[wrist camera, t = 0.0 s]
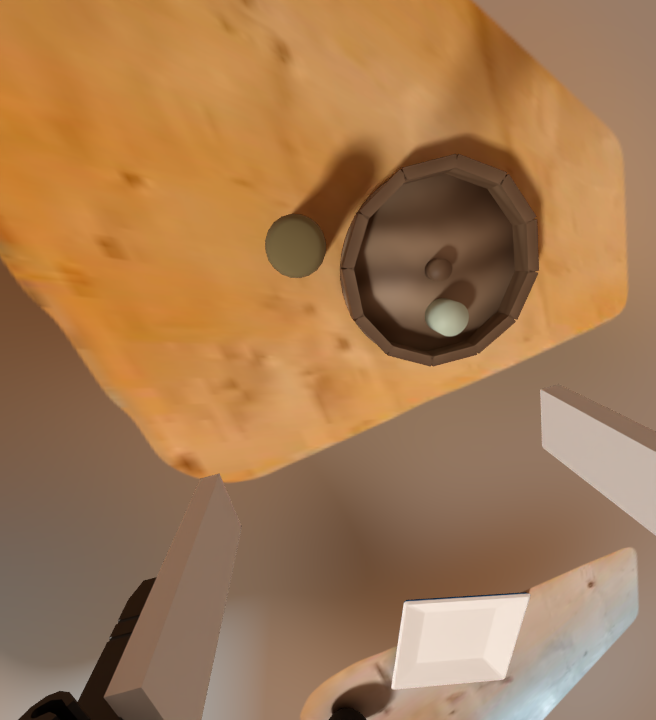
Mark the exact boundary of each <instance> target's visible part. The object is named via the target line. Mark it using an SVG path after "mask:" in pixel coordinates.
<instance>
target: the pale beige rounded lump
mask: <svg viewBox="0 0 656 720" xmlns="http://www.w3.org/2000/svg"><path fill="white" fill-rule="evenodd" d="M468 320H469V313H468V310H467V308H466V307H465V306H464V305H463V304H462V303H460V302H456V301H453V300H449V299H445V298H440V299H436V300H434V301H433V302H432V303H430V304H429V306H428V307H427V309H426V312H425V321H426V324H427V325H428V326H429V327H430V328H431V329H433V330H434V331H436V332H438V333H440V334H442V335H444V336H455V335H457V334H459V333H461V332H462V331H463V330H464V329H465V327H466V326H467V323H468Z"/></svg>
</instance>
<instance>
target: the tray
mask: <svg viewBox="0 0 656 720" xmlns="http://www.w3.org/2000/svg"><path fill="white" fill-rule="evenodd" d="M506 173H507V172H505V171H502V170H499V169H497V168H494V167H492V166H489V165H486V164H484V163H481V162H479V161H476V160H473V159H471V158H468V157H466V156H463V155H460V154H458V155H457V156H456V154H453V155H450V156H446V157H442V158H438V159H434V160H430V161H426V162H423V163H419V164H415V165H411V166H407V167H403V168H402V169H400V170H399V171H398V172H396V173H395V174H394V175H393V176H392V177H391V178H390V179H389V180H388V181H387V182H385V183H384V184H383V185H381V186H380V187H379V188H378V189H377V190H376V191H375V192H374V193H373V194H372V195H371V196H370V197H369V198H368V199H367V200H366V201H365V203H364V204H363V205H362V206H361V208H360V209H359V211H358V212H357V213H356V215H355V216H354V219H353V221H352V223H351V225H350V227H349V229H348V232H347V235H346V238H345V241H344V244H343V249H342V254H341V263H340V280H341V287H342V293H343V296H344V299H345V303H346V305H347V308H348V310H349V312H350V316H351V317H352V319H353V320H354V321H355V322H356V324H357V325H358V326H359V328H360V329H361V330H362V331H363V332H364V334H365V335H366V336H367V337H369V338H370V339H371V340H372V341H373V342H374V343H376V344H377V345H378V346H379V347H380V348H381V349H382V350H383V351H384V353H385V354H387V355H388V356H392V357H396V358H400V359H404V360H408V361H412V362H415V363H419V364H423V365H427V366H431V365H432V366H436V365H440V364H444V363H448V362H451V361H455V360H459V359H463V358H466V357H470V356H474V355H477V353H480V352H481V351H482V350H484V349H485V348H486V347H487V346H488V345H489V344H491V343H492V342H493V341H494V340H495V339H496V338H497V337H499V336H500V335H501V334H502V333H503V332H504V331H506V330H507V329H508V328H509V327H510V326H511V325H512V324H514V323H515V322H516V321H515V320H514V319H518V317H519V315H520V312H521V310H522V308H523V306H524V304H525V301H526V299H527V297H528V295H529V293H530V290H531V288H532V286H533V284H534V282H535V279H536V277H537V275H538V273H537V272H535V271H539V259H538V229H537V219H534V218H535V217H536V215H535V214H534V212H533V211H532V209H531V207H530V206H529V204H528V203H527V201H526V200H525V198H524V197H523V195H522V194H521V192H520V190H519V189H518V187H517V186H516V184H515V183H514V181H513V180H512V178H511V177H510V175H509V174H508V175H506ZM533 219H534V220H533ZM440 298H445V299H449V300H453V301H456V302H460V303H462V304H463V305H464V306H465V307H466V308H467V310H468V313H469V320H468V323H467V326H466V327H465V329H464V330H463V331H462V332H461V333H459V334H457V335H455V336H444V335H442V334H440V333H438V332H436V331H434V330H433V329H431V328H430V327H429V326H428V325H427V324H426V321H425V312H426V309H427V307H428V306H429V304H430V303H432V302H433V301H434V300H436V299H440Z"/></svg>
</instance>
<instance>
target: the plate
mask: <svg viewBox="0 0 656 720" xmlns="http://www.w3.org/2000/svg"><path fill="white" fill-rule="evenodd" d="M530 596H531V595H530V594H529V593H526V592H525V593H509V594H495V595H478V596H463V597H448V598H433V599H416V600H406V601H405V602H404V606H403V612H402V619H401V626H400V634H399V640H398V646H397V653H396V660H395V666H394V673H393V680H392V686H391V688H392V689H405V688H416V687H427V686H438V685H449V684H460V683H471V682H482V681H493V680H503V679H504V678H505V677H506V674H507V671H508V667H509V664H510V661H511V658H512V654H513V651H514V648H515V645H516V641H517V638H518V635H519V632H520V628H521V625H522V622H523V619H524V615H525V612H526V609H527V606H528V602H529V599H530Z"/></svg>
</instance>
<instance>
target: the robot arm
mask: <svg viewBox="0 0 656 720" xmlns="http://www.w3.org/2000/svg"><path fill="white" fill-rule="evenodd" d="M540 395H541V421H542V422H541V425H542V447H543V448H544V449H545V450H547V451H548V452H549V453H550V454H552V455H553V456H554V457H556V458H557V459H558V460H559V461H561V462H562V463H563V464H565V465H566V466H567V467H568V468H570V469H571V470H572V471H574V472H575V473H576V474H577V475H579V476H580V477H581V478H583V479H584V480H585V481H586V482H588V483H589V484H590V485H592V486H593V487H594V488H595V489H597V490H598V491H599V492H601V493H602V494H603V495H604V496H606V497H607V498H608V499H610V500H611V501H612V502H613V503H615V504H616V505H617V506H619V507H620V508H621V509H622V510H624V511H625V512H626V513H628V514H629V515H630V516H631V517H633V518H634V519H635V520H637V521H638V522H639V523H640V524H642V525H643V526H644V527H646V528H647V529H648V530H649V531H651V532H652V533H653V534H654V535H656V431H654V430H652V429H649V428H648V427H645V426H643V425H641V424H639V423H637V422H635V421H633V420H631V419H629V418H627V417H625V416H622V415H621V414H619V413H617V412H615V411H613V410H610V409H609V408H606V407H604V406H602V405H600V404H598V403H596V402H594V401H592V400H590V399H588V398H586V397H583V396H582V395H580V394H578V393H576V392H574V391H571V390H569V389H567V388H565V387H563V386H561V385H559V384H558V385H554V386H550V387H547V388H543V389H540ZM241 528H242V526H241V524H240V521H239V519H238V517H237V514H236V512H235V509H234V507H233V505H232V503H231V500H230V498H229V495H228V493H227V491H226V488H225V486H224V484H223V481H222V479H221V476H220V474H216V475H212V476H208V477H205V478H201V479H200V481H199V483H198V485H197V487H196V490H195V492H194V494H193V497H192V499H191V501H190V503H189V506H188V508H187V510H186V513H185V515H184V517H183V519H182V521H181V524H180V526H179V528H178V530H177V533H176V535H175V537H174V539H173V542H172V544H171V546H170V549H169V551H168V553H167V555H166V558H165V560H164V562H163V564H162V567H161V569H160V571H159V573H158V576H157V577H156V578H152V579H148V580H145V581H143V582H142V583H141V585H140V586H139V587H138V589H137V590H136V591H135V592H134V593H133V595H132V596H131V597H130V598H129V600H128V601H127V603H126V606H125V608H124V610H123V611H122V614H121V616H120V618H119V620H118V624H116V626H115V628H114V630H113V632H112V634H111V636H110V641H109V642H107V644H106V646H105V648H104V650H103V652H102V654H101V656H100V658H99V660H98V662H97V664H96V666H95V668H94V670H93V672H92V674H91V676H90V678H89V680H88V682H87V684H86V686H85V688H84V690H83V692H82V694H81V696H80V698H79V700H78V702H77V701H76V700H75V698H74V697H73V696H72V695H71V694H70V692H63V691H59V692H56V693H54V694H51V695H48V696H46V697H45V698H44V699H42V700H40V701H39V702H38V703H36V704H35V705H33V706H32V707H31V708H30V709H29V710H28V711H27V712H26V713H25V714H24V715H23V716H22V717H21V718H20V719H19V720H201V719H202V714H203V709H204V704H205V700H206V695H207V690H208V686H209V681H210V676H211V671H212V666H213V662H214V657H215V652H216V647H217V642H218V637H219V633H220V628H221V623H222V619H223V614H224V609H225V604H226V600H227V595H228V590H229V585H230V581H231V575H232V571H233V566H234V561H235V557H236V552H237V547H238V542H239V538H240V533H241Z"/></svg>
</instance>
